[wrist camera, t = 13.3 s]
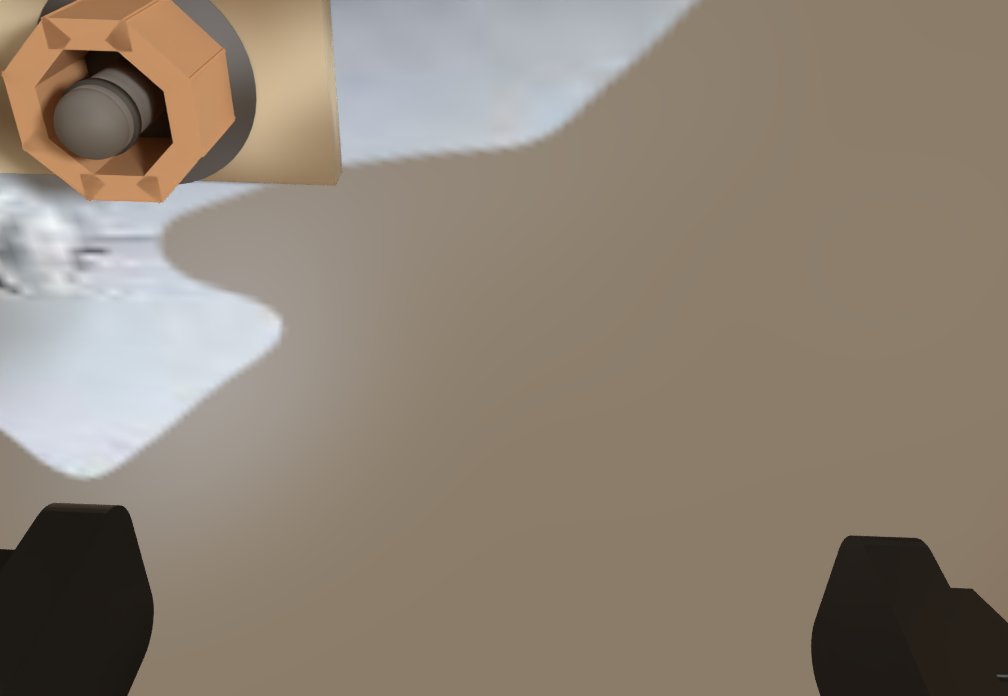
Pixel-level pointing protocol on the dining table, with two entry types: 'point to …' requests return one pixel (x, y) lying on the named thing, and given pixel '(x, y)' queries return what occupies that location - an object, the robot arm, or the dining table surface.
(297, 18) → the post board
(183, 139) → the ring
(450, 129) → the dining table surface
